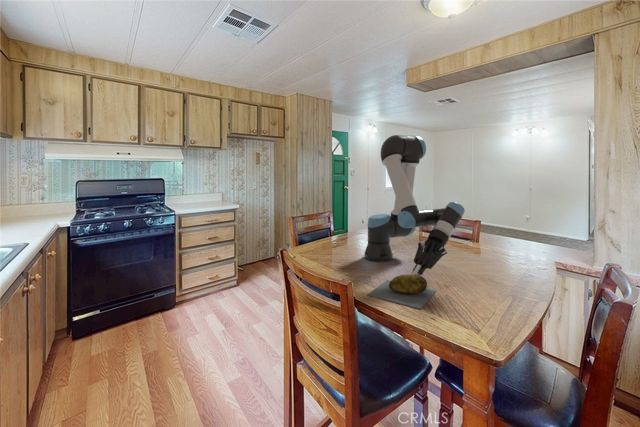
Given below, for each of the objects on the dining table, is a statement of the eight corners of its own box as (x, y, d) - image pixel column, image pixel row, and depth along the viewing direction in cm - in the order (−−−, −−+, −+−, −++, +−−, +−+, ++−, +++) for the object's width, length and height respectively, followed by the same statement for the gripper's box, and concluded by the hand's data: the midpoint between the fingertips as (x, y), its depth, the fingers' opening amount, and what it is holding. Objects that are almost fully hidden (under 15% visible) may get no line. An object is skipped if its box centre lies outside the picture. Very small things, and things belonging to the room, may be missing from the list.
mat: (367, 295, 107) (367, 294, 107) (387, 280, 122) (387, 279, 122) (420, 309, 95) (420, 308, 95) (436, 291, 110) (436, 290, 110)
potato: (390, 269, 113) (396, 266, 105) (422, 278, 112) (430, 276, 105) (386, 289, 111) (392, 289, 103) (418, 299, 110) (427, 299, 102)
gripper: (458, 242, 117) (430, 290, 110) (431, 236, 128) (404, 279, 121) (451, 230, 113) (422, 280, 107) (423, 226, 124) (395, 270, 118)
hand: (412, 279), depth 114 cm, fingers closed
